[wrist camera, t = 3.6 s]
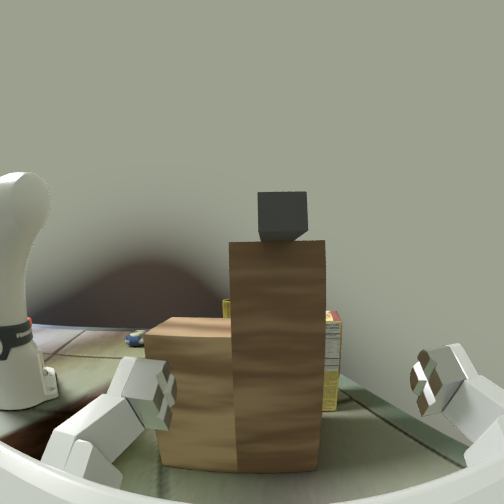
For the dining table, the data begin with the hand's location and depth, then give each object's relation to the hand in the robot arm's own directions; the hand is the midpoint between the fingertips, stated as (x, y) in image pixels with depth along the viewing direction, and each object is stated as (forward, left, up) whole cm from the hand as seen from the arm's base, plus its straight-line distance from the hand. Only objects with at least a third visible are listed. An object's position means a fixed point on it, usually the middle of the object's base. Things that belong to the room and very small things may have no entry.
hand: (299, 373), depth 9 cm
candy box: (-29, +27, -21) cm, 45 cm away
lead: (-18, +11, +5) cm, 22 cm away
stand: (-25, +9, -21) cm, 34 cm away
